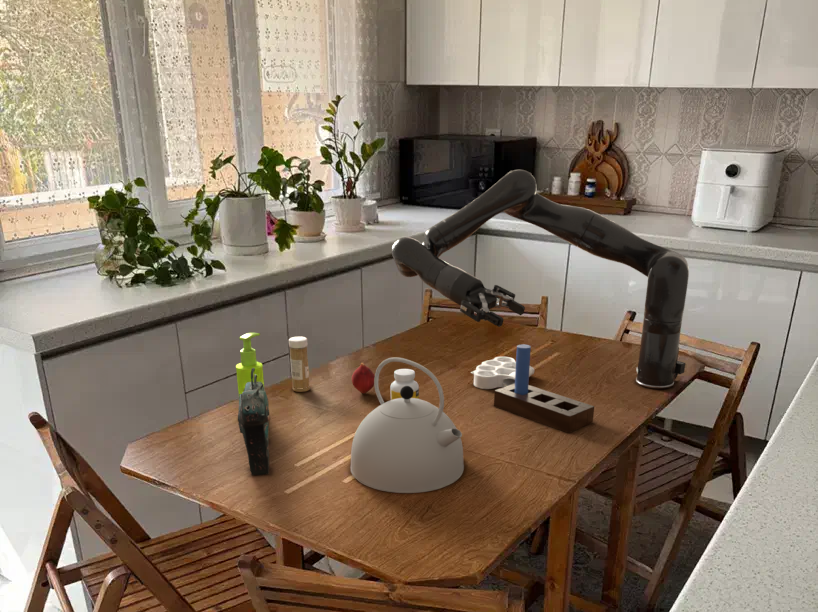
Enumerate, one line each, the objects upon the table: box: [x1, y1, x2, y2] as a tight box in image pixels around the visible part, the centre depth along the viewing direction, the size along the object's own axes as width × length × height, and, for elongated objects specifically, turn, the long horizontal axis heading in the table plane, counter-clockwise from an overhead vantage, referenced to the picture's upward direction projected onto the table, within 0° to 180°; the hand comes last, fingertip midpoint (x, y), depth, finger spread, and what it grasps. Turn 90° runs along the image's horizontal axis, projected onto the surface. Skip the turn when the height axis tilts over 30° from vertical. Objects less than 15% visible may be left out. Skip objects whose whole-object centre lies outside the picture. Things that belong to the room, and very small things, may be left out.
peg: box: [514, 343, 532, 395], centre depth 184 cm, size 3×3×15 cm
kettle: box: [350, 356, 465, 494], centre depth 152 cm, size 25×23×22 cm
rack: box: [493, 384, 595, 434], centre depth 182 cm, size 9×22×4 cm, turn 42°
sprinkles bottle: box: [288, 335, 311, 393], centre depth 196 cm, size 5×5×13 cm
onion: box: [351, 362, 375, 395], centre depth 194 cm, size 6×6×8 cm
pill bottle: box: [389, 368, 420, 400], centre depth 177 cm, size 6×6×12 cm
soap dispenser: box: [235, 331, 265, 395], centre depth 177 cm, size 6×7×20 cm
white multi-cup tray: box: [470, 356, 536, 390], centre depth 204 cm, size 3×18×15 cm
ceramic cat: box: [237, 368, 271, 476], centre depth 157 cm, size 20×6×20 cm, turn 9°
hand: (512, 317), depth 180 cm, fingers open, 8 cm apart
